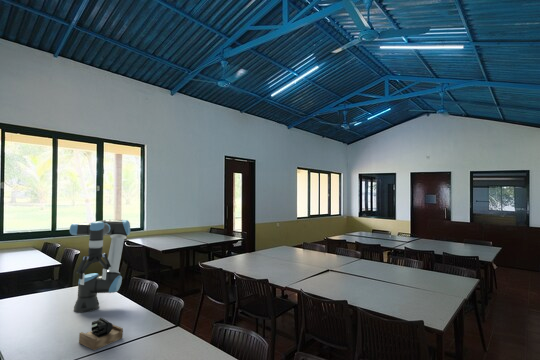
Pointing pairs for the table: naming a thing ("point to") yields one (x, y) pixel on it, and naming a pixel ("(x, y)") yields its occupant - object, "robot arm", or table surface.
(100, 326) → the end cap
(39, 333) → the table surface
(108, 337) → the pedestal
